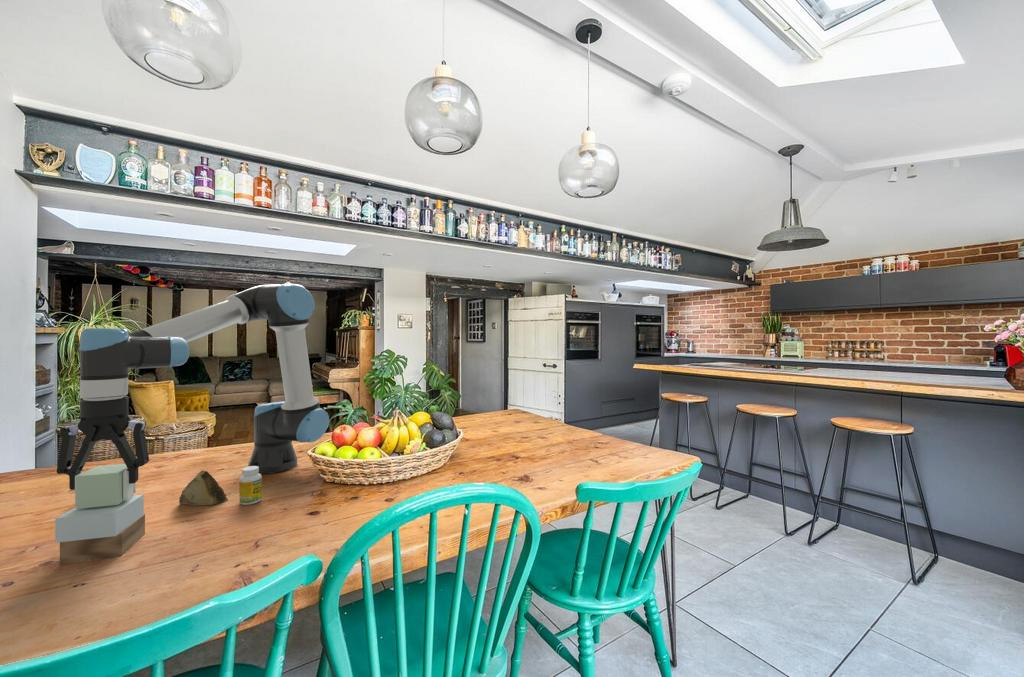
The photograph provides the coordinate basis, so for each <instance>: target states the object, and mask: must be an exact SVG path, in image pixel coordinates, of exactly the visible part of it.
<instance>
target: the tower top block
mask: <svg viewBox="0 0 1024 677" xmlns="http://www.w3.org/2000/svg"><path fill="white" fill-rule="evenodd" d="M144 495H145V494H133V496H132V497H131V498H129V499H128V500H124V501H123V502H121V503H120V504H118V505H110V506H101V507H91V508H81V509H76V506H74V508H72V509H70V510H67V512H65V513H63V514H60V515H59V516H57V517H55V518H54V531H55V533H54V536H55V537H54V540H55V543H60V542H67V541H76V540H85V539H94V538H103V537H112V536H117V535H118V534H119V533H121V532H122V531H123V530H125V529H126V528H127V527H129V526H130V525H132V524H133V523H134V522H136V521H137V520H138V519H140V518H141V517H142V516H144V514H145V508H144V506H145V505H144V504H145V502H144V500H145V498H144V497H145V496H144Z"/></svg>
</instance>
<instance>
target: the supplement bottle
mask: <svg viewBox="0 0 1024 677" xmlns="http://www.w3.org/2000/svg"><path fill="white" fill-rule="evenodd" d="M258 472H259V467H258V466H249V467H248V466H246V467H243V468H242V469H241V474H242V475H241V476H240V477H239V479H238V480H239V481H238V484H239V487H238V488H239V494H238V495H239V497H238V498H239V501H238V502H239V504H240V505H242V506H249V505H254V504H256V503H259V502H261V500H262V491H263V490H262V488H263V487H262V485H263V484H262V482H263V481H262V480H263V478H262V474H259V473H258Z"/></svg>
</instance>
